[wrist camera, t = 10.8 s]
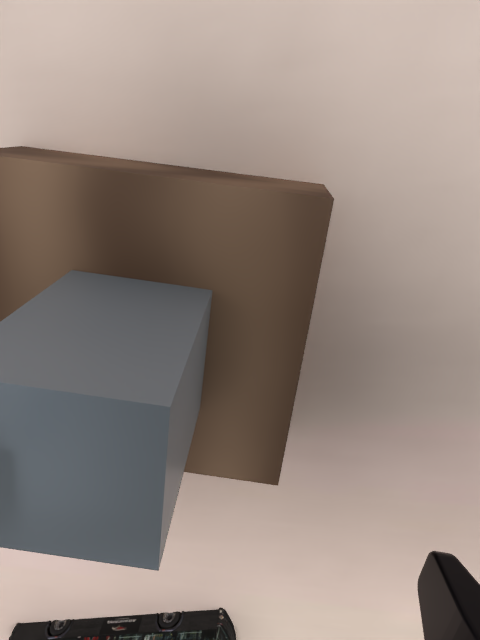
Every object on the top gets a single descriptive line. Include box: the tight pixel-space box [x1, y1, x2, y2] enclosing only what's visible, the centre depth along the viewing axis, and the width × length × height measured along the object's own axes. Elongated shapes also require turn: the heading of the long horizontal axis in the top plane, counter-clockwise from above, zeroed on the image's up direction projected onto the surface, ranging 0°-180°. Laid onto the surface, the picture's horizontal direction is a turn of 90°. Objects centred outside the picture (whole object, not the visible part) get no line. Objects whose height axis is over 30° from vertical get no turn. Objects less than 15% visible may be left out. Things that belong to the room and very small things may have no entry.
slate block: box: [0, 270, 212, 570], centre depth 13 cm, size 5×5×7 cm
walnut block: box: [0, 146, 334, 485], centre depth 18 cm, size 12×12×4 cm
